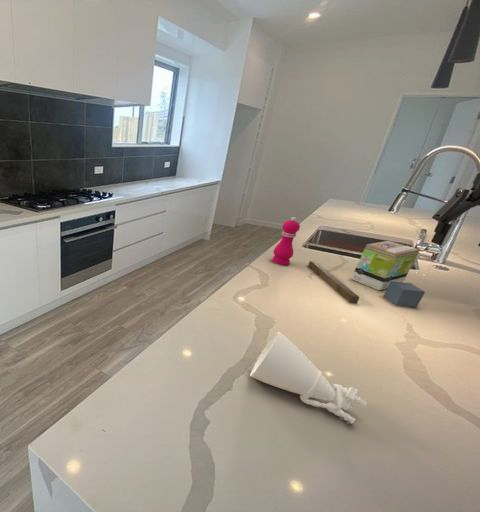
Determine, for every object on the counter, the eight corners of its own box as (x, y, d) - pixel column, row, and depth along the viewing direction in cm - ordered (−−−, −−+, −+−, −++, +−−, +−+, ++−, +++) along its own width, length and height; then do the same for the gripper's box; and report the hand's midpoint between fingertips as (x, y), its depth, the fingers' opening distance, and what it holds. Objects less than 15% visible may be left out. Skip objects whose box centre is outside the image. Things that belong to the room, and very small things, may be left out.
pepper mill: (271, 257, 132) (284, 213, 125) (290, 261, 129) (305, 216, 121) (269, 262, 127) (282, 217, 119) (289, 267, 123) (304, 220, 115)
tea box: (381, 291, 106) (399, 253, 100) (349, 279, 115) (364, 243, 109) (403, 285, 112) (421, 248, 106) (371, 273, 120) (387, 239, 114)
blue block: (416, 307, 97) (425, 291, 94) (395, 305, 98) (403, 289, 95) (402, 298, 102) (410, 283, 100) (383, 296, 103) (390, 281, 101)
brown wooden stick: (356, 303, 98) (359, 297, 97) (350, 302, 98) (353, 296, 97) (313, 266, 125) (315, 260, 124) (308, 265, 125) (309, 260, 124)
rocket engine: (390, 385, 53) (284, 325, 61) (361, 443, 50) (255, 372, 59) (358, 389, 62) (271, 338, 71) (333, 438, 60) (246, 378, 69)
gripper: (536, 173, 84) (493, 245, 92) (437, 168, 87) (405, 237, 96) (570, 176, 77) (520, 254, 85) (461, 170, 80) (424, 245, 89)
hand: (459, 245), depth 90 cm, fingers open, 12 cm apart
